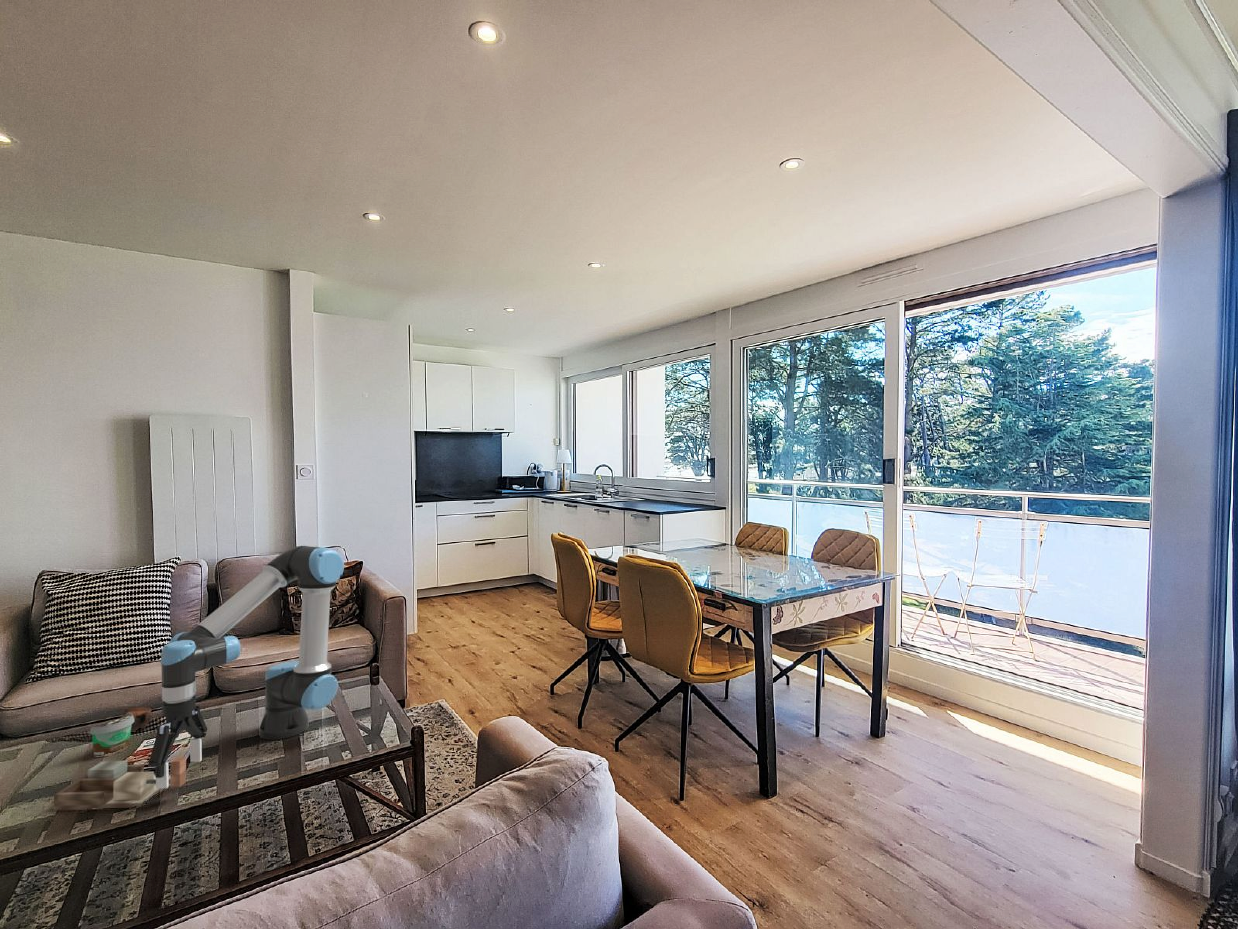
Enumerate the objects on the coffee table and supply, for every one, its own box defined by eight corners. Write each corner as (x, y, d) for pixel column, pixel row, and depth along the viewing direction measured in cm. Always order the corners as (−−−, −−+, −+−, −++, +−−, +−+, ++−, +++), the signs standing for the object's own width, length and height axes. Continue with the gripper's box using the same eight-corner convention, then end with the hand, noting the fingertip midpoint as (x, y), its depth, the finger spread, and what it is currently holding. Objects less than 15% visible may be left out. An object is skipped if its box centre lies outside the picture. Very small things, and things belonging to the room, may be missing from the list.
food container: (104, 761, 183) (105, 729, 183) (89, 759, 184) (89, 727, 184) (144, 743, 195) (144, 713, 195) (129, 741, 196) (129, 711, 196)
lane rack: (179, 778, 174) (179, 757, 174) (139, 808, 158) (139, 785, 158) (101, 779, 173) (101, 758, 173) (53, 810, 157) (54, 787, 157)
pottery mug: (108, 736, 201) (115, 710, 206) (135, 737, 209) (142, 712, 214) (136, 730, 199) (143, 704, 203) (162, 731, 207) (168, 707, 211)
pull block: (188, 788, 166) (189, 754, 166) (176, 798, 161) (176, 763, 161) (127, 790, 165) (128, 756, 165) (113, 800, 160) (113, 765, 160)
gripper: (194, 681, 175) (195, 751, 176) (130, 718, 150) (131, 800, 151) (220, 680, 176) (221, 751, 176) (160, 718, 151) (161, 799, 151)
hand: (179, 774), depth 163 cm, fingers open, 13 cm apart
